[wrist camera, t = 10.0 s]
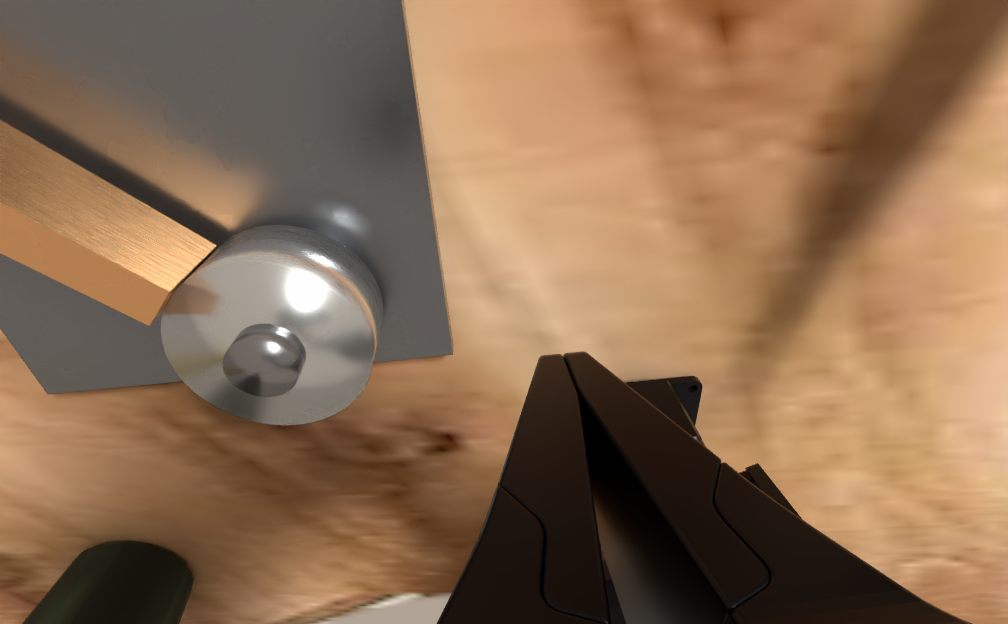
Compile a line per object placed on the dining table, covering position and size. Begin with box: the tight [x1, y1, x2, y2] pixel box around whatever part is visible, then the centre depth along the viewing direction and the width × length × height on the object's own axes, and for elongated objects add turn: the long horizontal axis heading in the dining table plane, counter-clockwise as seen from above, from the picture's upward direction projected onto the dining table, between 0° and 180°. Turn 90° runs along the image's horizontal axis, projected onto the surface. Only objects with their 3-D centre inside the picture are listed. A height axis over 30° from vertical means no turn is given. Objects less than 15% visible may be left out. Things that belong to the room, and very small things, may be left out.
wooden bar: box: [0, 120, 384, 425], centre depth 16 cm, size 20×7×4 cm, turn 50°
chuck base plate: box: [0, 0, 453, 394], centre depth 17 cm, size 21×18×1 cm
